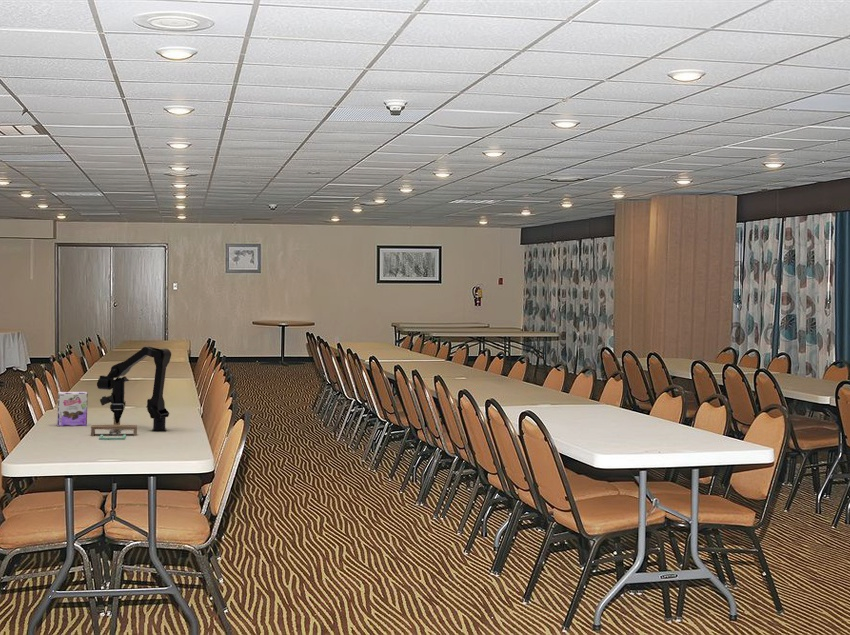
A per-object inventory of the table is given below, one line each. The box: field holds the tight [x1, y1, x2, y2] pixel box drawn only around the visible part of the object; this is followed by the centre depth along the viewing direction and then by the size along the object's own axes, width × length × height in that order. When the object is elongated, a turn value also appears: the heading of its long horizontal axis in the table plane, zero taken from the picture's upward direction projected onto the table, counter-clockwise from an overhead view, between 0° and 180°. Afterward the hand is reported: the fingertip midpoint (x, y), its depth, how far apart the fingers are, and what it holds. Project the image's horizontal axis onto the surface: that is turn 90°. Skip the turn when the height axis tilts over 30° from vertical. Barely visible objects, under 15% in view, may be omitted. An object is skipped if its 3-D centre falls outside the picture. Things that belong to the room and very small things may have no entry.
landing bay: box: [98, 434, 127, 441], centre depth 452 cm, size 11×11×1 cm
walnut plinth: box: [90, 424, 138, 437], centre depth 462 cm, size 6×20×4 cm, turn 104°
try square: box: [108, 415, 123, 434], centre depth 478 cm, size 22×5×9 cm, turn 15°
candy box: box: [56, 391, 89, 427], centre depth 490 cm, size 14×6×16 cm, turn 112°
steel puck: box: [109, 430, 120, 436], centre depth 462 cm, size 4×4×2 cm
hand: (117, 422), depth 486 cm, fingers open, 9 cm apart
